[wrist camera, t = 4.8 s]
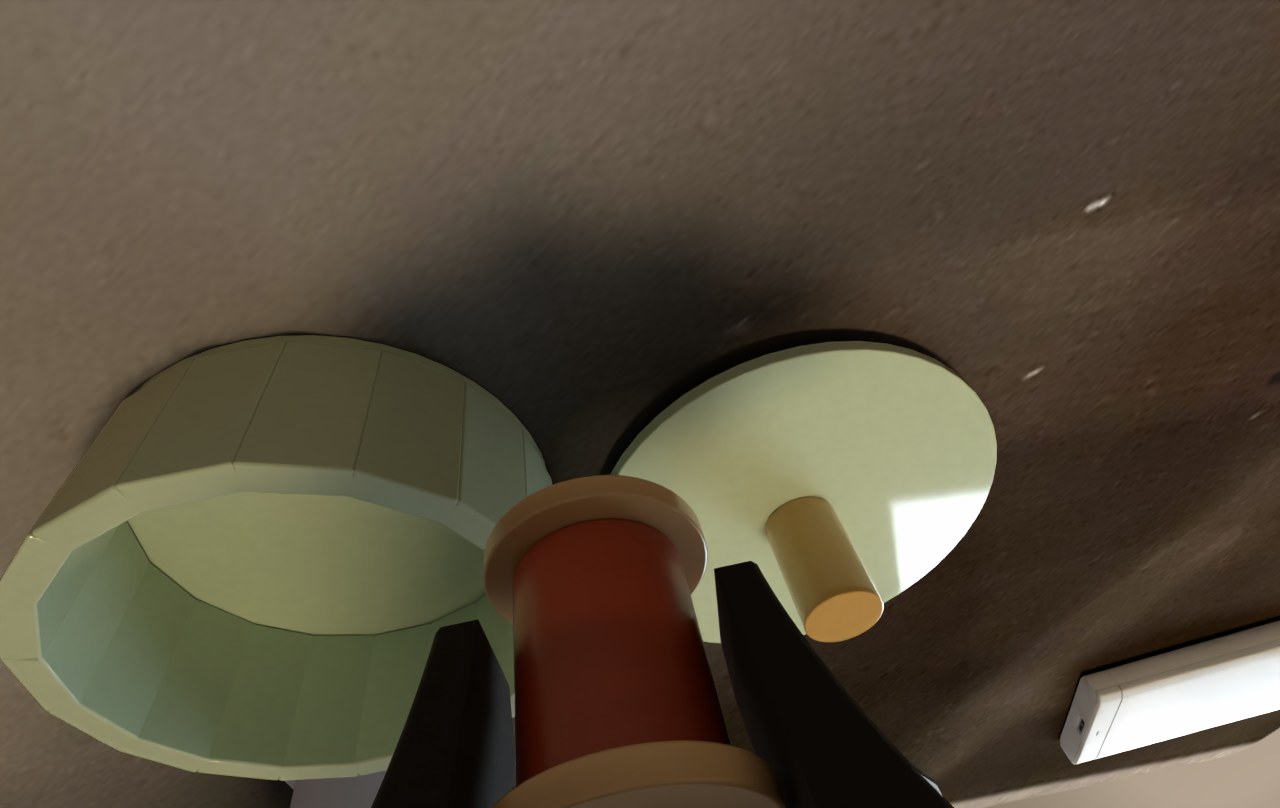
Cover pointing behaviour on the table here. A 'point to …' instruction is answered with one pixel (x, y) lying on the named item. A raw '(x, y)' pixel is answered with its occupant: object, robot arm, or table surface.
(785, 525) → the lid
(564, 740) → the spool
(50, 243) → the table surface
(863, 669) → the table surface
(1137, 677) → the hard drive
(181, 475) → the tin
